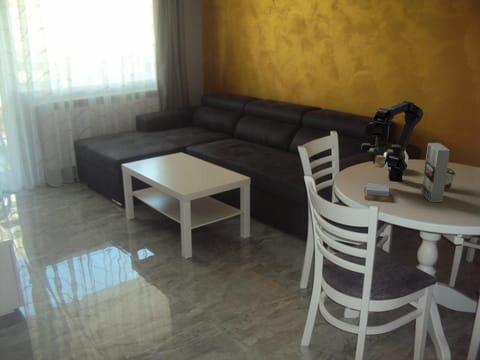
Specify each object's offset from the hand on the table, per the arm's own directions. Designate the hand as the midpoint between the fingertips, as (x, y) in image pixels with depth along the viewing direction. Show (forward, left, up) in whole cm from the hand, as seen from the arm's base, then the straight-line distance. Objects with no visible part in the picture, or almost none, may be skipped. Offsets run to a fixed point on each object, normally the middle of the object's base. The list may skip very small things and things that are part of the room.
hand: (379, 164), depth 240 cm
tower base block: (+1, +16, -12) cm, 20 cm away
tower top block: (+1, +16, -9) cm, 19 cm away
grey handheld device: (-24, +12, -11) cm, 29 cm away
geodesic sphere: (-11, -30, -11) cm, 34 cm away
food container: (-31, -4, -11) cm, 33 cm away
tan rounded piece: (0, 0, -1) cm, 1 cm away
